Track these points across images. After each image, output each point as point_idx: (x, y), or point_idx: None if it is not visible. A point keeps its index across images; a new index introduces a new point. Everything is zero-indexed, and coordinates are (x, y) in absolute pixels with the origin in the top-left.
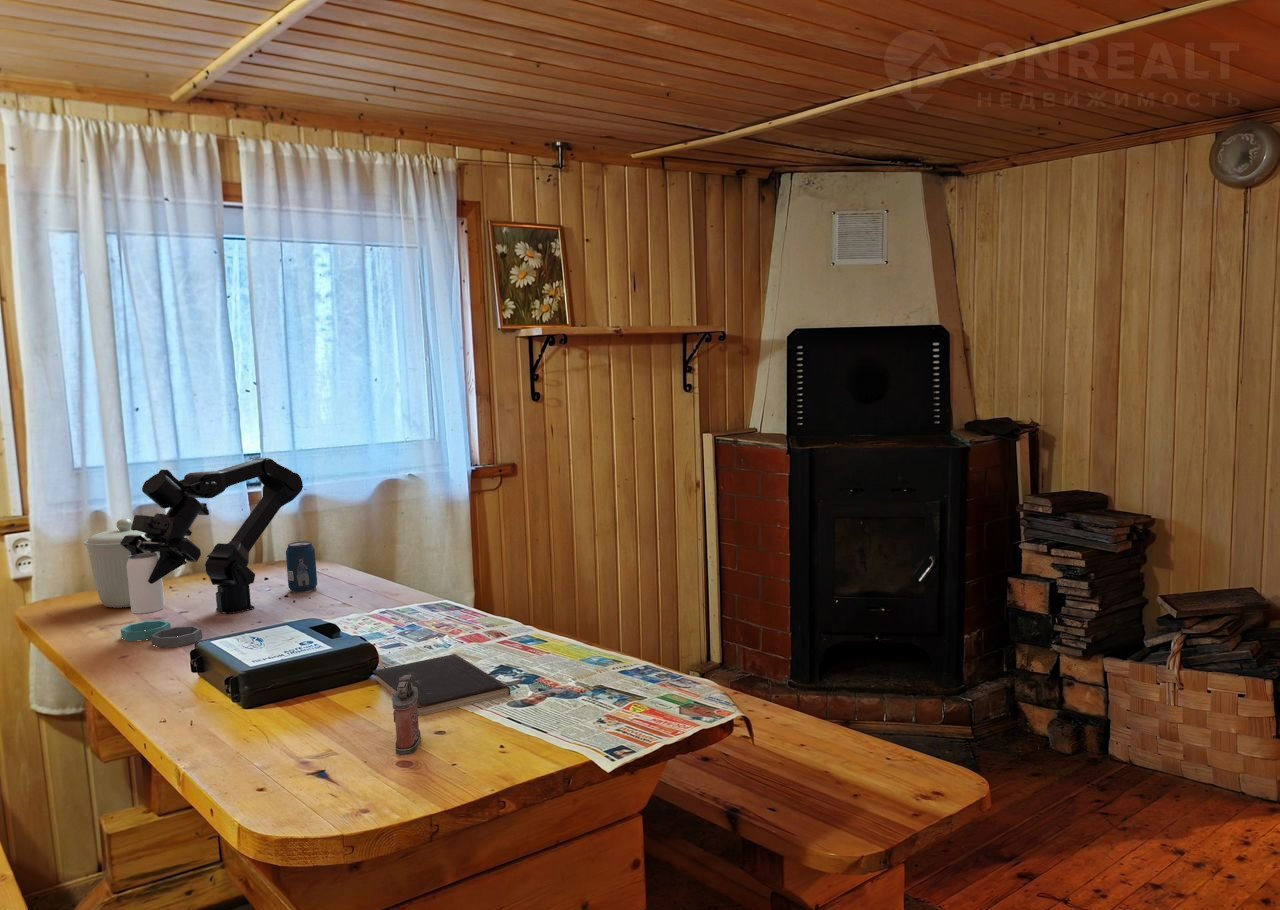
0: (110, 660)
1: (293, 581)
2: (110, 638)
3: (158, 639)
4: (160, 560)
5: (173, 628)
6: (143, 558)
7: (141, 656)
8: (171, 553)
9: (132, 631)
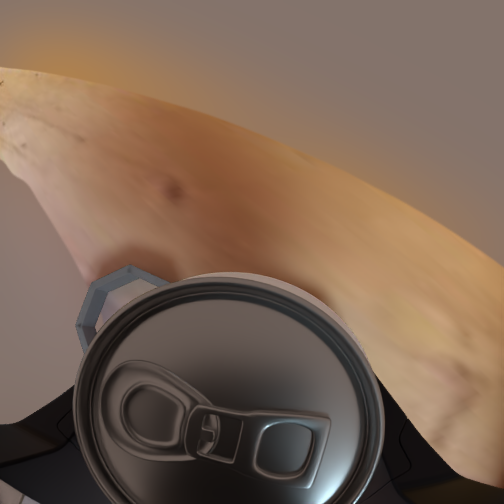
0: (184, 165)
1: None
2: (365, 310)
3: (131, 265)
4: (55, 421)
5: None
6: (107, 337)
7: (135, 206)
8: None
9: None
